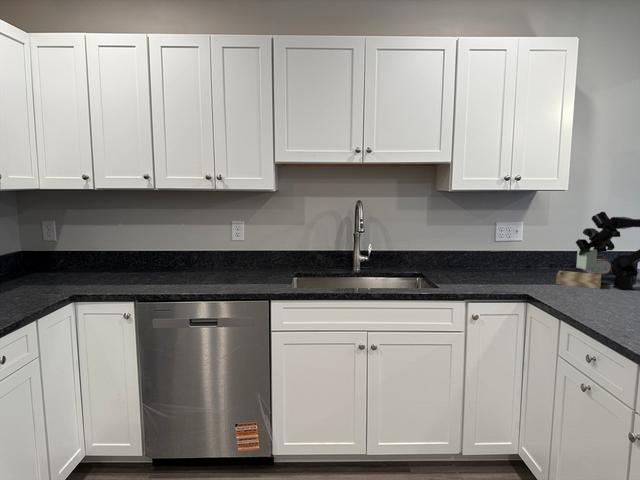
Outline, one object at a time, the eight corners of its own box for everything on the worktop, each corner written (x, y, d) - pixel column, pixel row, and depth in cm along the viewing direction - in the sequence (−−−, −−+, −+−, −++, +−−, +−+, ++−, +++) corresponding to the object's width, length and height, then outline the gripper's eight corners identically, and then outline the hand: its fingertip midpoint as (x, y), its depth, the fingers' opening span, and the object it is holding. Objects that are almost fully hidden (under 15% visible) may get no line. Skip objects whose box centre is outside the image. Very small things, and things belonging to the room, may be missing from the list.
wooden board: (600, 283, 204) (601, 274, 204) (600, 288, 193) (600, 279, 192) (558, 279, 214) (559, 270, 214) (556, 284, 203) (556, 275, 202)
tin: (608, 273, 229) (610, 258, 228) (612, 274, 226) (613, 259, 225) (580, 273, 230) (581, 258, 229) (583, 274, 227) (584, 259, 226)
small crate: (595, 269, 212) (597, 250, 211) (585, 269, 211) (587, 250, 210) (586, 267, 218) (587, 248, 217) (576, 267, 217) (577, 248, 215)
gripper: (611, 223, 209) (591, 242, 221) (580, 223, 206) (561, 242, 218) (624, 240, 203) (603, 258, 215) (592, 241, 199) (572, 259, 211)
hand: (584, 254), depth 215 cm, fingers closed on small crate, 6 cm apart
